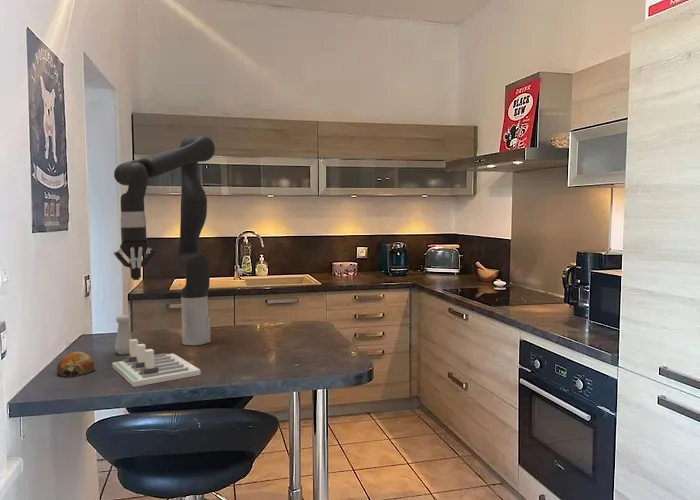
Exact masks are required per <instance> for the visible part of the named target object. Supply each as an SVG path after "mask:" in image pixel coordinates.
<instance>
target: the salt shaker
mask: <svg viewBox="0 0 700 500" xmlns="http://www.w3.org/2000/svg"><path fill="white" fill-rule="evenodd" d="M115 320H116V323H117V324H118V327H117V332H116V339H115V343H114V349H115V351H116V353H117V355H121V356H123V355H124V356H126V355H130V352H129V340H130V339H133V337H132V333H131V329H130V325H129V323H130V321H131V316H130V315H129V314H128V315H127V314H121V315H118V316H116V319H115Z"/></svg>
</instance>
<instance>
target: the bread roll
mask: <svg viewBox="0 0 700 500" xmlns="http://www.w3.org/2000/svg"><path fill="white" fill-rule="evenodd" d="M94 370H95V362H94V360H93V358H92V357H91V356H90V354H87V353H85V352H82V351H72V352H69V353H67V354H66V355H65V356H63V357H62V358H61V359H60V361H58V364H57V368H56V372H57V374H58V375H59V376H60V377H67V378H68V377H69V378H70V377H71V378H73V377H77V376H79V377H80V376H83V375H88V374H89V373H91V372H93V371H94Z"/></svg>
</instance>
